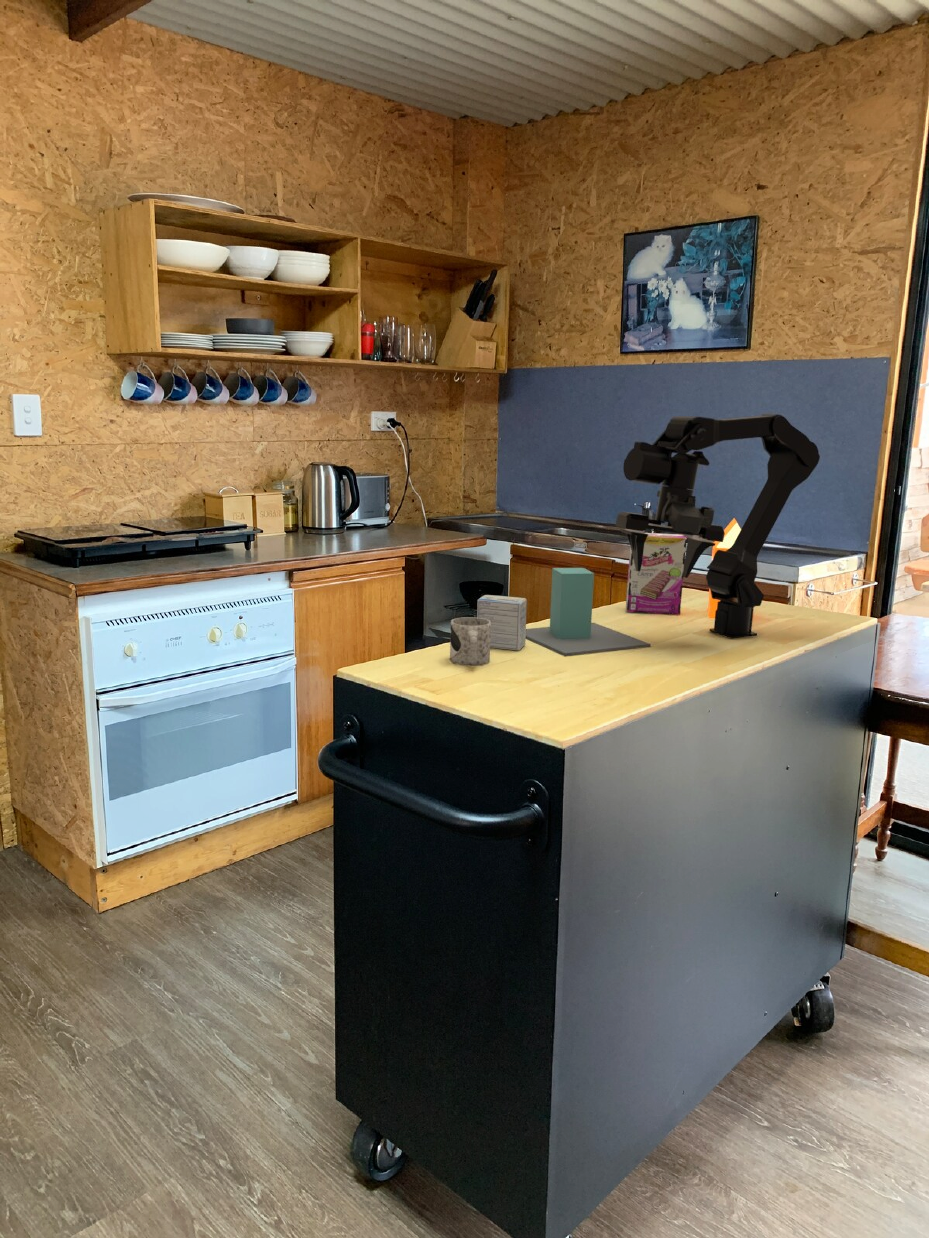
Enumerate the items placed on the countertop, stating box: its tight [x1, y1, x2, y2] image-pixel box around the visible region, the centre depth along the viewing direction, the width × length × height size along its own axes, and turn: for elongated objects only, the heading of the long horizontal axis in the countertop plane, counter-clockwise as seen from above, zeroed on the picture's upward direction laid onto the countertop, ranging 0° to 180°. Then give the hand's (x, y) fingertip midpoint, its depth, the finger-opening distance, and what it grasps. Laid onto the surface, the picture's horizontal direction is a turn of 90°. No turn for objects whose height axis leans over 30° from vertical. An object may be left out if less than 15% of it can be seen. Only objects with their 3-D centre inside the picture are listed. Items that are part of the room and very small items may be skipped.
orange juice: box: [707, 517, 742, 620], centre depth 192 cm, size 8×9×20 cm
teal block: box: [549, 567, 595, 639], centre depth 170 cm, size 6×6×12 cm
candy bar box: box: [625, 532, 688, 616], centre depth 193 cm, size 11×5×16 cm, turn 84°
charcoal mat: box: [526, 622, 651, 657], centre depth 170 cm, size 18×18×1 cm
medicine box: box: [476, 594, 528, 651], centre depth 163 cm, size 8×4×9 cm, turn 71°
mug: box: [449, 616, 491, 667], centre depth 152 cm, size 10×7×7 cm, turn 4°
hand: (661, 574), depth 167 cm, fingers open, 9 cm apart
